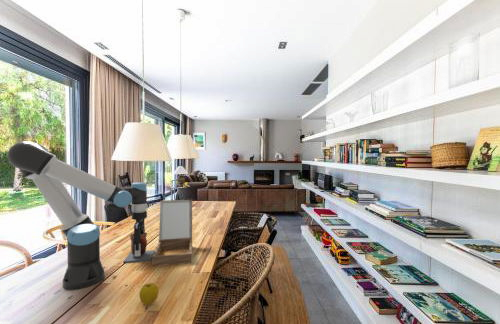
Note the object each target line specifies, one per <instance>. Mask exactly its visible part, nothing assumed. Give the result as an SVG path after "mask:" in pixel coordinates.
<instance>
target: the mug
mask: <svg viewBox="0 0 500 324" xmlns="http://www.w3.org/2000/svg"><path fill="white" fill-rule="evenodd" d="M147 235H148V233H147V232H146V231H145V232H144V233H143V234H141V236H140V243H141V255H142V254H144V253H145V252H146V251H147V247H148V246H147V245H148V240H147ZM129 239H130V252H132V254H133V255H135V244H133V243H134V233H131V234H129ZM136 242H137V241H136Z"/></svg>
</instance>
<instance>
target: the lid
mask: <svg viewBox="0 0 500 324" xmlns="http://www.w3.org/2000/svg"><path fill="white" fill-rule="evenodd" d="M159 204H160V205H159V206H160V207H159V227H158V228H159V229H158V230H159V232H158V233H159V234H158V241H159V240H165V239H179V238H192V239H193V199H176V200H175V199H173V200H172V199H171V200H168V199H167V200H160V203H159Z"/></svg>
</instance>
